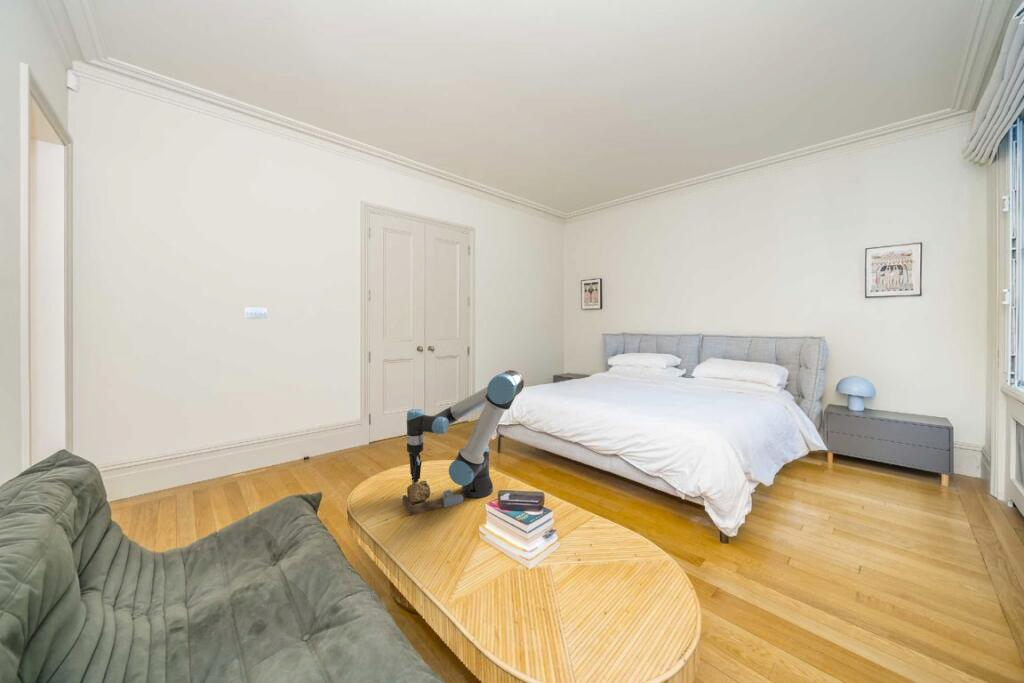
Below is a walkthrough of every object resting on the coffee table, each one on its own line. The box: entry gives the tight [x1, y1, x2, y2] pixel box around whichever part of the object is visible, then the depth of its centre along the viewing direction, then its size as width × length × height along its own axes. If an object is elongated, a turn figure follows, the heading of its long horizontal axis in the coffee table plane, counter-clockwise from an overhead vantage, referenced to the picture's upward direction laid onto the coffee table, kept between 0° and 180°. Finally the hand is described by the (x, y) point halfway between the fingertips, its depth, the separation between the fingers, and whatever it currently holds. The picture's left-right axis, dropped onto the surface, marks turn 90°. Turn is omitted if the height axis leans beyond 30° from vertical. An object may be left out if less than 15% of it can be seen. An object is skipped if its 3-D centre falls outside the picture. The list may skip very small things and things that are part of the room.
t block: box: [442, 489, 464, 508], centre depth 180 cm, size 9×9×3 cm
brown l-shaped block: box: [402, 494, 444, 516], centre depth 176 cm, size 15×12×4 cm
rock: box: [406, 480, 432, 505], centre depth 177 cm, size 12×10×10 cm
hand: (415, 491), depth 185 cm, fingers closed
